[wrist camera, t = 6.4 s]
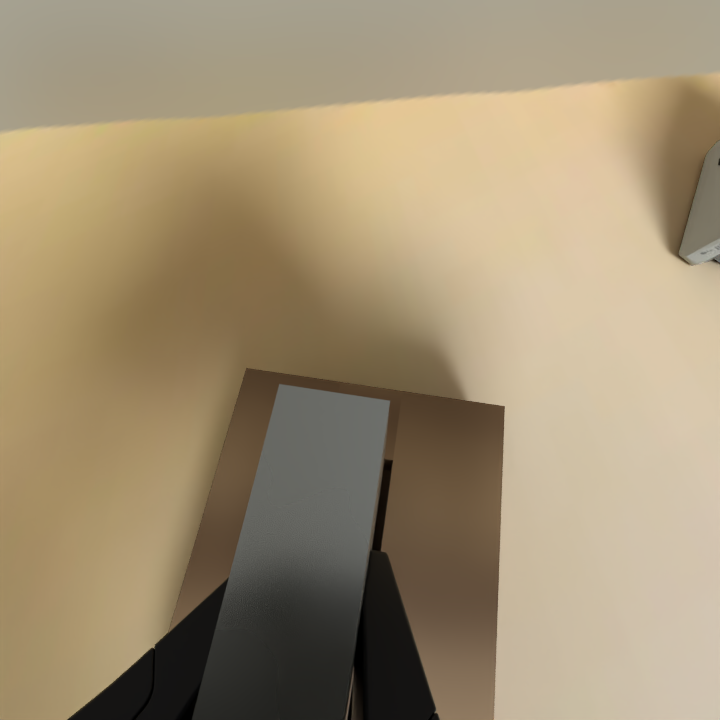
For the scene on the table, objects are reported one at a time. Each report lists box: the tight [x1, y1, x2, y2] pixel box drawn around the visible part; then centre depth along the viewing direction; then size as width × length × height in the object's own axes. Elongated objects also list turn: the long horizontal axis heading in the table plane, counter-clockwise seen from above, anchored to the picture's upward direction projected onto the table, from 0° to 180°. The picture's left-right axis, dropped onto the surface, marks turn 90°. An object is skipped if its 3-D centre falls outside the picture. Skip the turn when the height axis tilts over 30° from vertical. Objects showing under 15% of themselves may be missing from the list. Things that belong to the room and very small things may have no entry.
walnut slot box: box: [169, 368, 505, 720], centre depth 15 cm, size 14×10×4 cm
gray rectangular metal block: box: [192, 384, 390, 720], centre depth 10 cm, size 8×2×11 cm, turn 170°
